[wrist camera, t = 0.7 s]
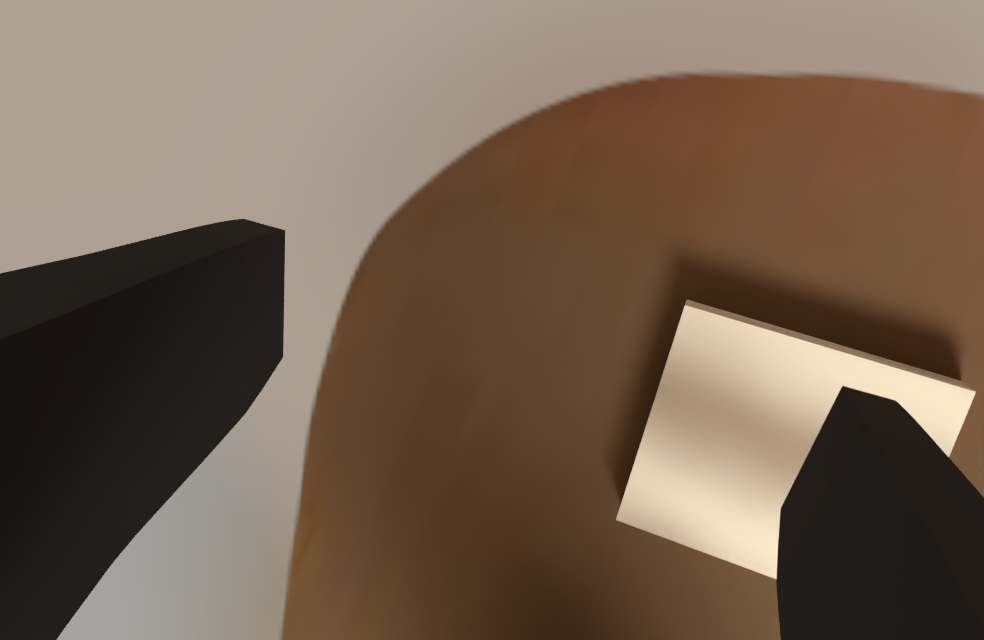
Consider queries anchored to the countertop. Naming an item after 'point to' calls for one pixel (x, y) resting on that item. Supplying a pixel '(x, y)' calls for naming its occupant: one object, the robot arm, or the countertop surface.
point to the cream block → (755, 428)
